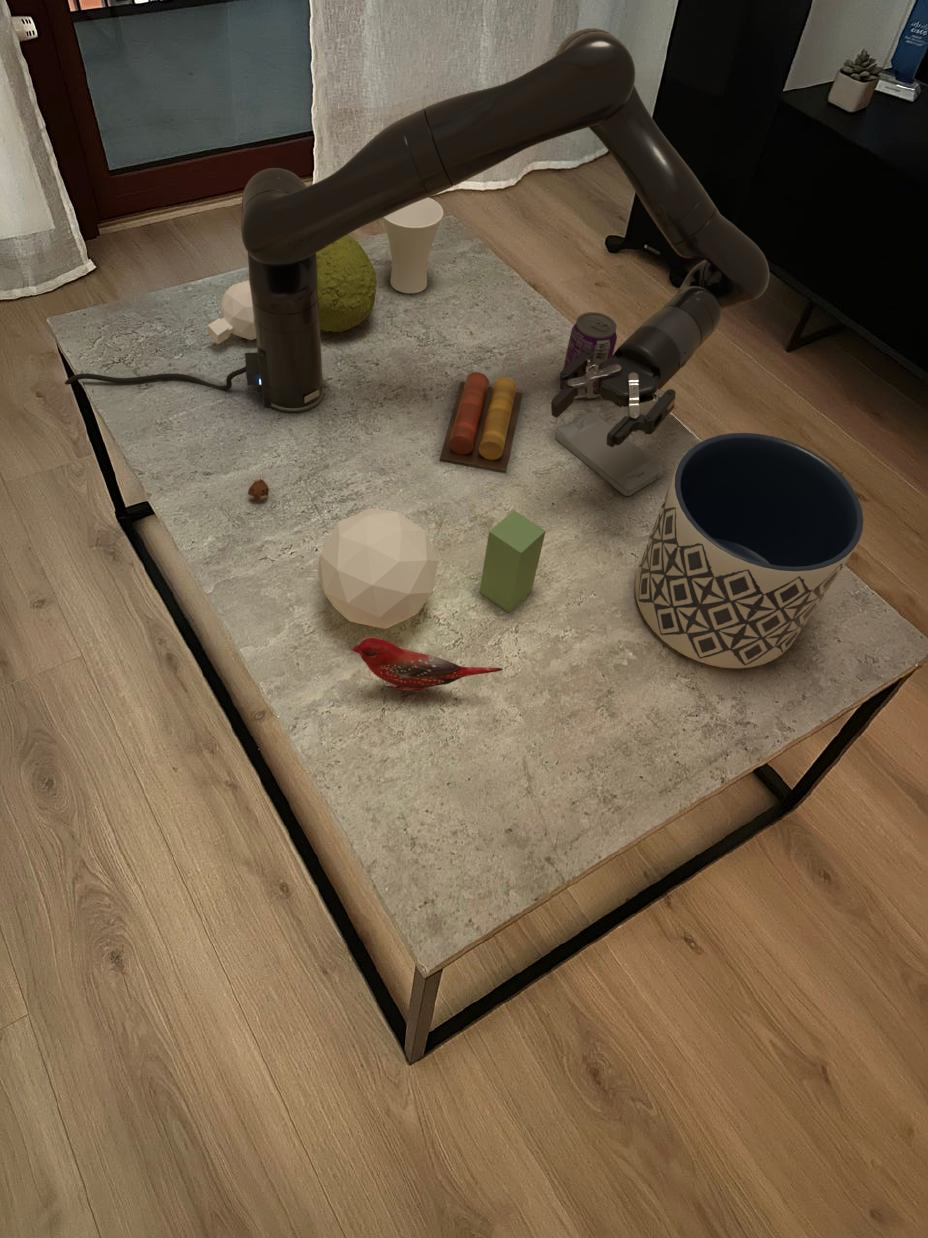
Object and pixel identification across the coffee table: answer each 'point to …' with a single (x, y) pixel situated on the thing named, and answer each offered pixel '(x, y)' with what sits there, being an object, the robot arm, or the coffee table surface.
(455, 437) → the rod rack
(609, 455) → the phone
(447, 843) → the coffee table surface
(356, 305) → the fruit
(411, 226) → the cup
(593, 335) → the beverage can
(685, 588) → the planter
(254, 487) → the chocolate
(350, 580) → the geometric sphere
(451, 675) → the decorative bird figurine
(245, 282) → the perfume bottle
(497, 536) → the green bar
